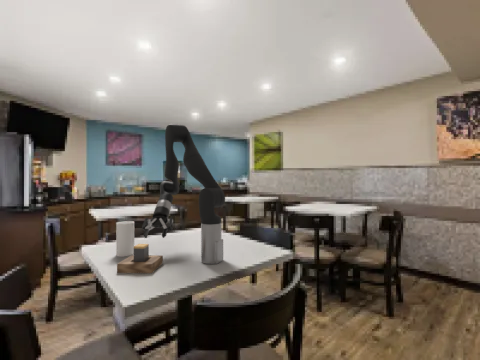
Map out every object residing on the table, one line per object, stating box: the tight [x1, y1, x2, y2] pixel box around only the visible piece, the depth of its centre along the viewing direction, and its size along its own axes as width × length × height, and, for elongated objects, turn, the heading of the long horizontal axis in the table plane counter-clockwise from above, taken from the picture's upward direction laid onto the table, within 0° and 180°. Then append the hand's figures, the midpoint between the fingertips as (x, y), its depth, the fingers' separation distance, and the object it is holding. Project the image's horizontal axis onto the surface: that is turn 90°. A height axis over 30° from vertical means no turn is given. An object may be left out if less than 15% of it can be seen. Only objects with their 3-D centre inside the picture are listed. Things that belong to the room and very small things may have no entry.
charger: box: [133, 243, 150, 262], centre depth 104 cm, size 4×4×10 cm
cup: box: [115, 220, 135, 257], centre depth 125 cm, size 8×8×16 cm
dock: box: [116, 254, 164, 274], centre depth 104 cm, size 14×12×4 cm
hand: (154, 236), depth 116 cm, fingers open, 8 cm apart
